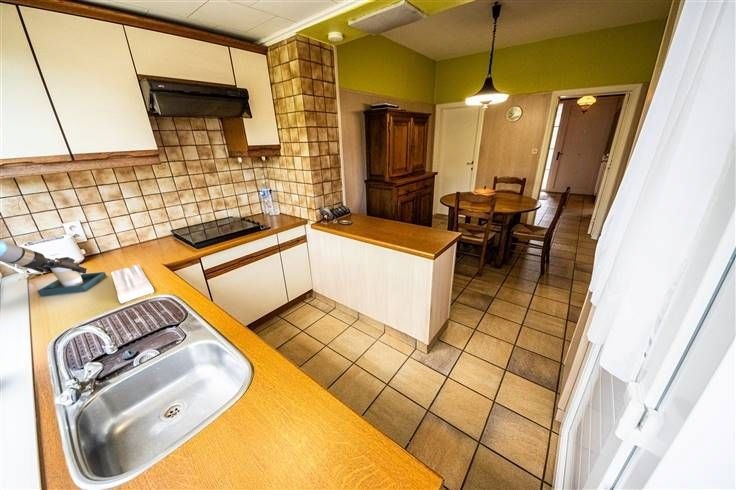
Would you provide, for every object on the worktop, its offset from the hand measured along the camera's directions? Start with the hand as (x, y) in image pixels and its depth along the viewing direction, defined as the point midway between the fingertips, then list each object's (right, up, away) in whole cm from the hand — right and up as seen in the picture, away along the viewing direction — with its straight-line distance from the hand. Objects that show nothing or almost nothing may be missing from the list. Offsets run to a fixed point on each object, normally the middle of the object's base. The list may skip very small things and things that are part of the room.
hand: (74, 272), depth 137 cm
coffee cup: (+1, -7, -1) cm, 7 cm away
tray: (+1, -7, 0) cm, 7 cm away
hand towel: (+31, -6, -2) cm, 32 cm away
